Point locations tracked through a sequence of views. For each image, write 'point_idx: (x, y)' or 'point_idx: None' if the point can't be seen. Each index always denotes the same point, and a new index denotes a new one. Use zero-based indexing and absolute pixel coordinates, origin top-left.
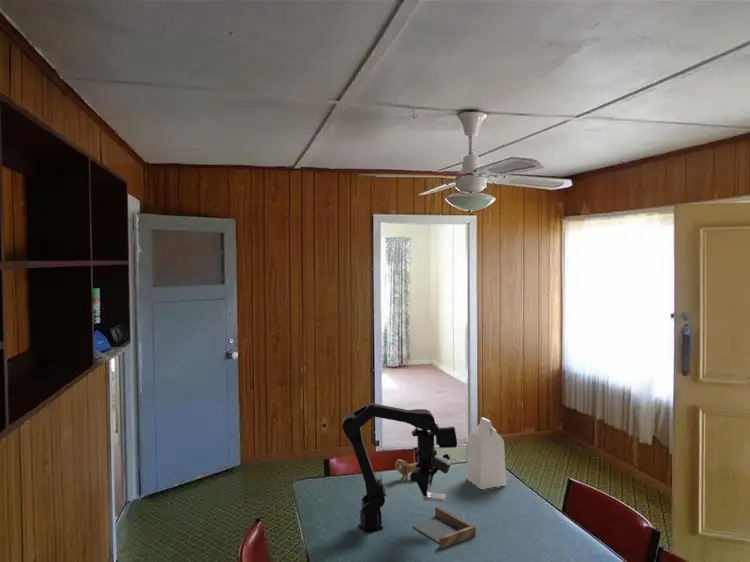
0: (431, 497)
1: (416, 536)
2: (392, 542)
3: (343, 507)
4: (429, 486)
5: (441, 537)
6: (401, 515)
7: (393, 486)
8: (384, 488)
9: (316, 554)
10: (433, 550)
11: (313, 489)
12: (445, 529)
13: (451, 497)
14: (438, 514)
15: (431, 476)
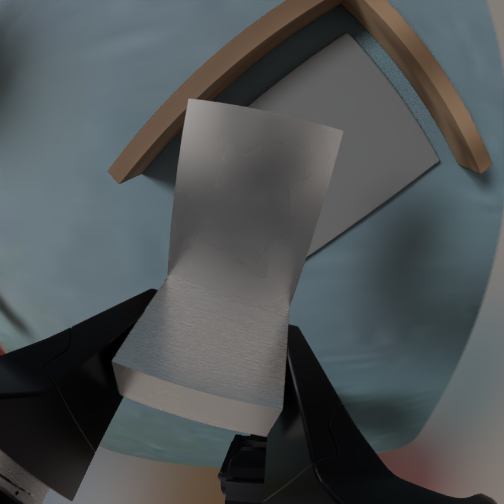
0: (298, 272)
1: (367, 258)
2: (402, 336)
3: (173, 427)
4: (177, 342)
5: (483, 162)
6: None
7: (17, 315)
8: (236, 487)
9: (410, 442)
10: (479, 192)
11: (117, 443)
12: (302, 115)
13: (3, 136)
14: (148, 159)
15: (58, 397)
